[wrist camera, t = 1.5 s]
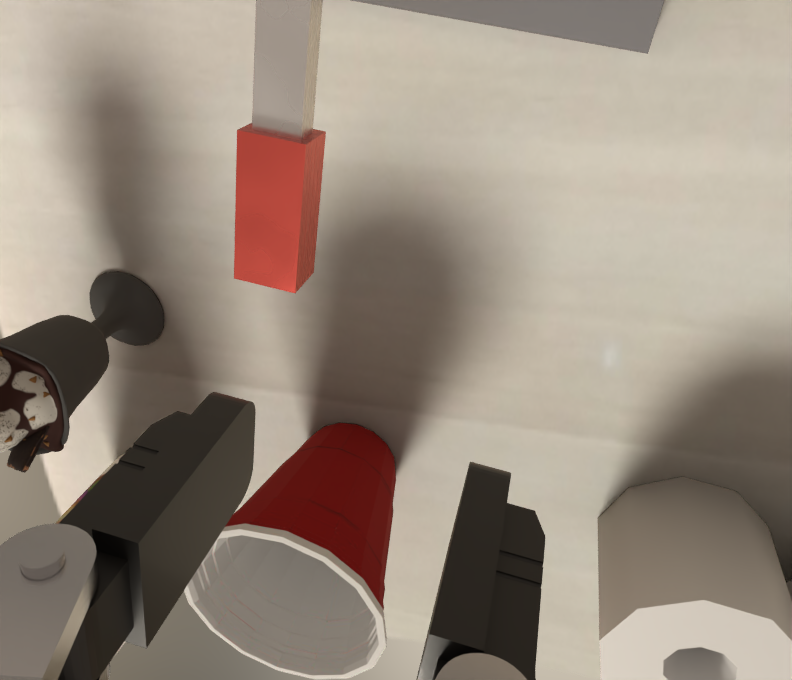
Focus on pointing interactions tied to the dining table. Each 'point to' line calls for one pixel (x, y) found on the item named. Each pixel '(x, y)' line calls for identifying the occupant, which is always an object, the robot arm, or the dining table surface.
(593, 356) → the dining table surface
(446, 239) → the dining table surface
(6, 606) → the robot arm
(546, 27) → the valve stand
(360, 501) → the plastic cup
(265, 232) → the valve lever
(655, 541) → the toilet tissue
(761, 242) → the dining table surface
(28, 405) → the sundae
